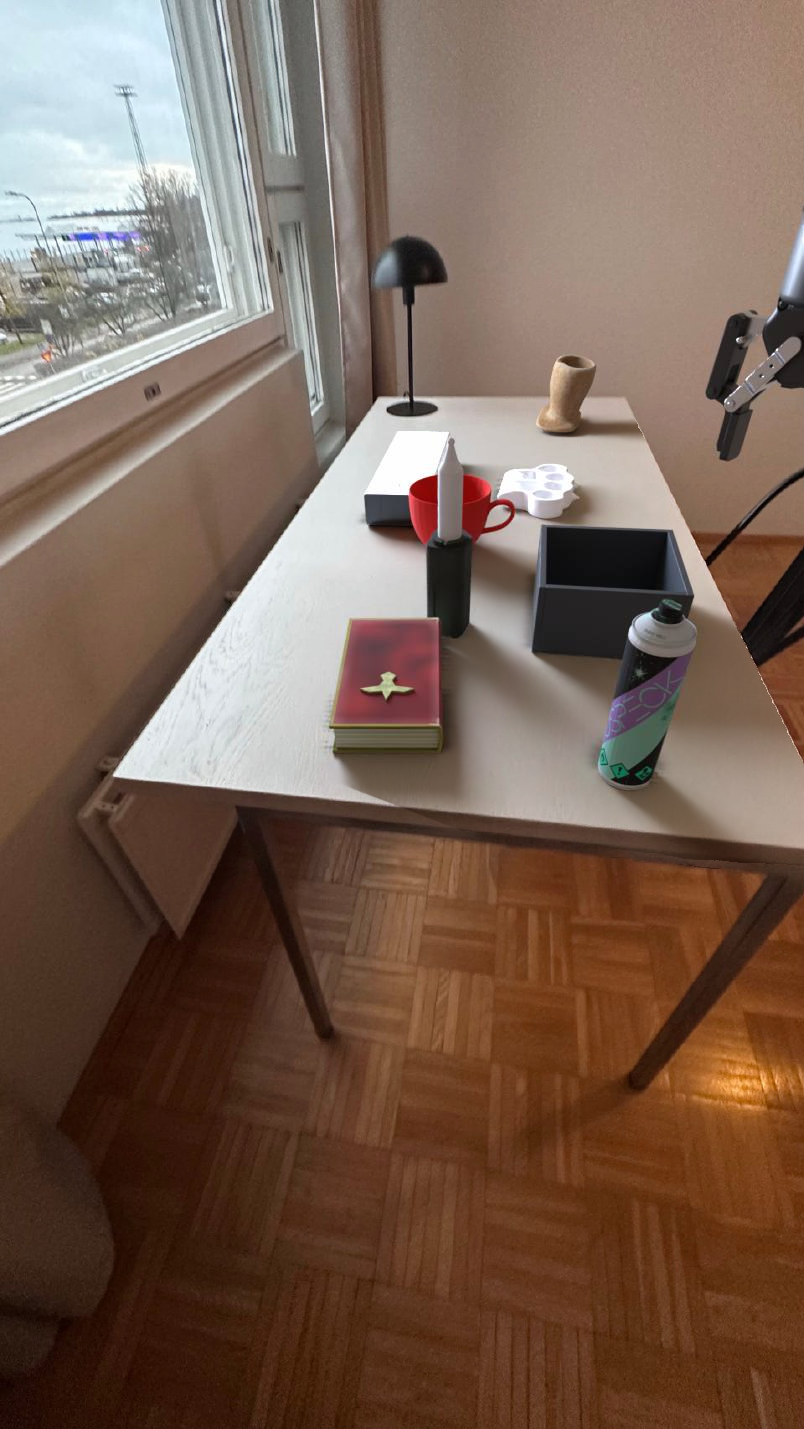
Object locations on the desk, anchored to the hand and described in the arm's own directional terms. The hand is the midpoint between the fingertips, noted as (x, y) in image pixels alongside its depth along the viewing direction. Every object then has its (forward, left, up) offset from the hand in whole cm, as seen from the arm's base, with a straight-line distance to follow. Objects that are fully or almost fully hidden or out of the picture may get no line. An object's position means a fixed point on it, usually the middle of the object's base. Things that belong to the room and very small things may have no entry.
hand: (778, 471), depth 51 cm
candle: (+33, -8, -29) cm, 44 cm away
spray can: (+5, +9, -29) cm, 30 cm away
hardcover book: (+33, +8, -29) cm, 44 cm away
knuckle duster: (+36, -55, -29) cm, 72 cm away
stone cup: (+45, -98, -29) cm, 111 cm away
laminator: (+60, -48, -29) cm, 82 cm away
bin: (+15, -18, -28) cm, 37 cm away
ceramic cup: (+41, -30, -29) cm, 58 cm away
